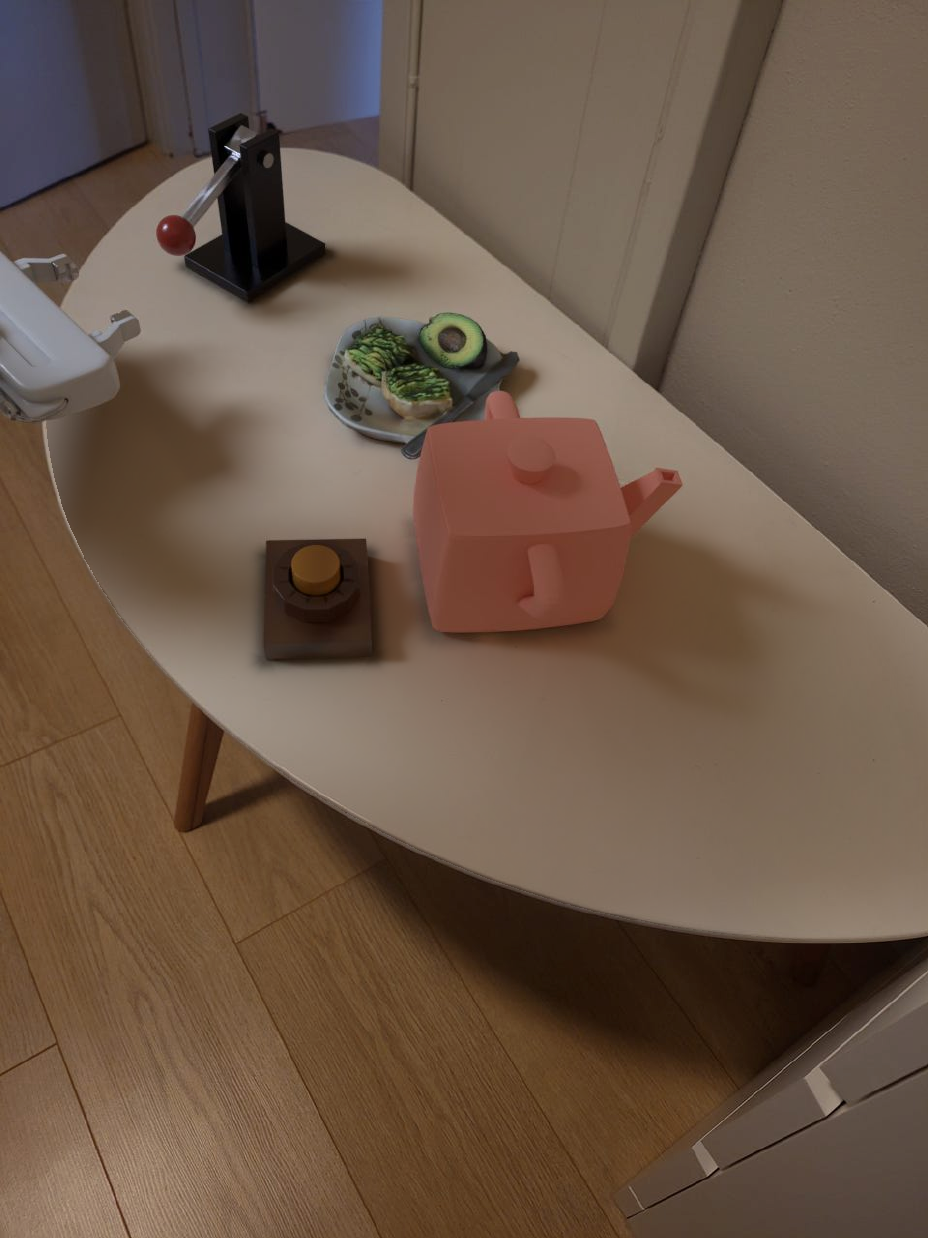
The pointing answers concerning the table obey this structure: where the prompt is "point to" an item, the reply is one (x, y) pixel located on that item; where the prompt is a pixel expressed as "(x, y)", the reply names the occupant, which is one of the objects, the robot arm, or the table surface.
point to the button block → (317, 605)
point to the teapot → (524, 520)
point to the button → (315, 570)
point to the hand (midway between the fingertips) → (103, 292)
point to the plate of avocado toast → (413, 376)
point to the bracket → (252, 220)
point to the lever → (201, 200)
